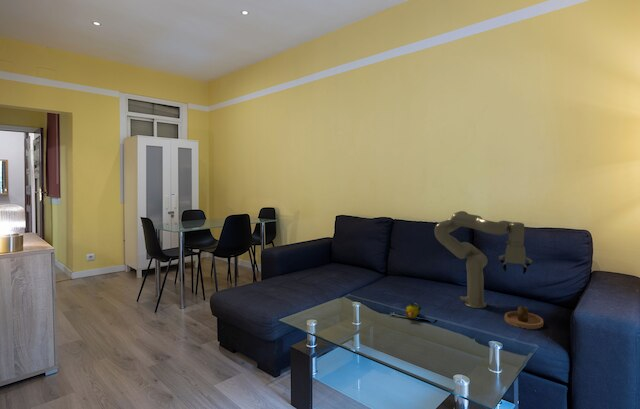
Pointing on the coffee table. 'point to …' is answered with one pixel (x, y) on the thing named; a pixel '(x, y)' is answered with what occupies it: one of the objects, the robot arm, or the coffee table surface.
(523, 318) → the walnut bead
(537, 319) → the round tray
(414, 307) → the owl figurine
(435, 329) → the coffee table surface
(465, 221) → the robot arm
